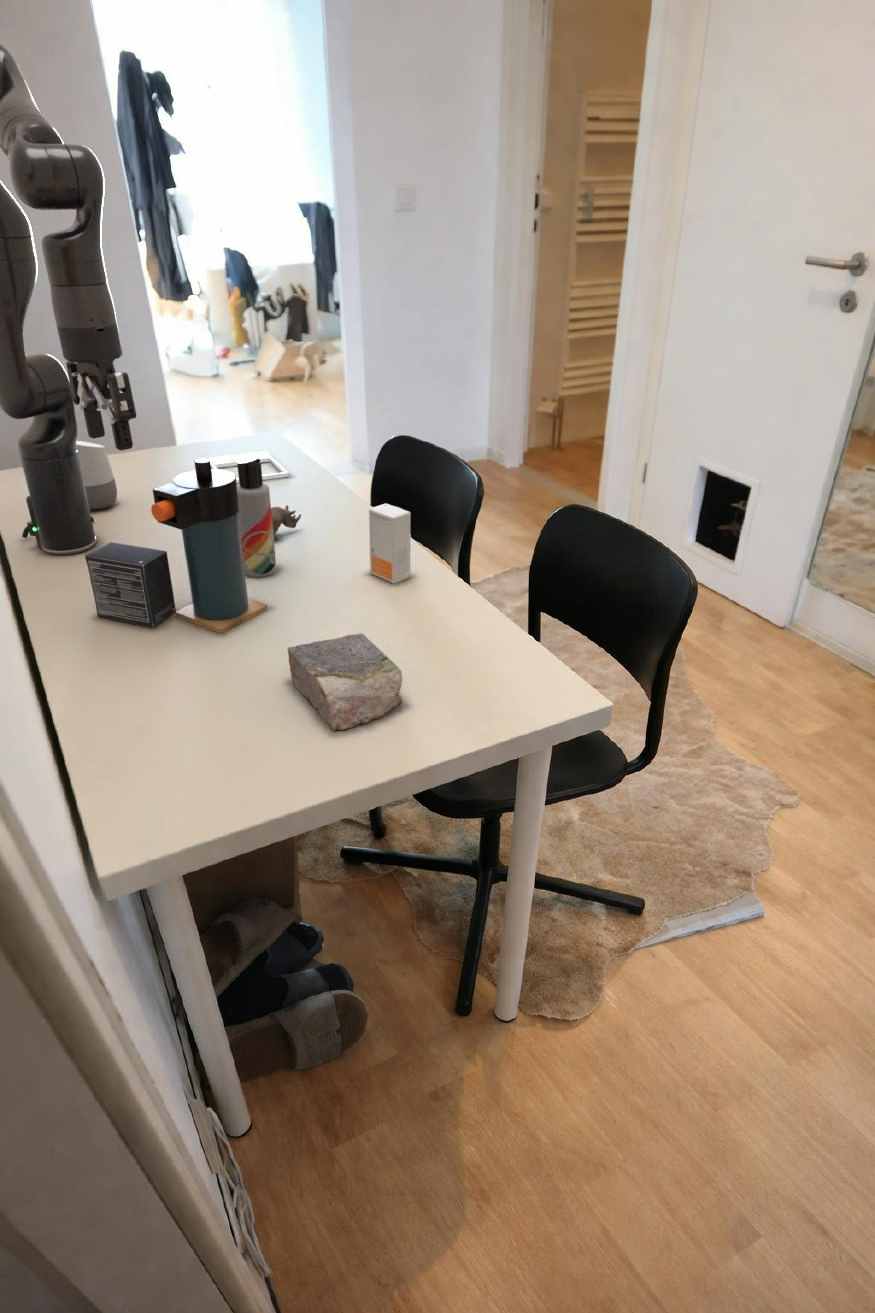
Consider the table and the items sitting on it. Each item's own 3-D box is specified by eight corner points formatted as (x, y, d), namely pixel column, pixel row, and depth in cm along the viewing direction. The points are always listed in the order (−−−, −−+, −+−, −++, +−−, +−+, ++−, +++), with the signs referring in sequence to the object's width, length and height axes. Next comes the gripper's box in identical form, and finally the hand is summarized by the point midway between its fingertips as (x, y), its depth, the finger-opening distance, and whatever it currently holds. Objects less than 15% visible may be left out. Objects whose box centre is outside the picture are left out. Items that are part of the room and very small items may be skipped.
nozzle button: (165, 523, 114) (162, 505, 112) (152, 519, 115) (149, 501, 114) (182, 517, 116) (179, 499, 115) (169, 513, 117) (166, 495, 116)
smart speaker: (129, 504, 171) (117, 436, 164) (91, 517, 164) (77, 447, 157) (99, 495, 175) (86, 429, 168) (61, 507, 169) (46, 439, 161)
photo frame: (265, 450, 201) (288, 471, 187) (266, 454, 201) (289, 476, 188) (205, 457, 195) (224, 480, 181) (206, 462, 196) (225, 484, 182)
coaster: (221, 634, 124) (220, 629, 124) (175, 616, 129) (174, 611, 128) (267, 609, 131) (267, 604, 131) (222, 593, 136) (221, 588, 135)
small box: (179, 611, 130) (169, 549, 125) (154, 629, 125) (142, 565, 120) (123, 600, 133) (111, 539, 128) (96, 617, 128) (82, 555, 122)
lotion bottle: (269, 579, 141) (258, 464, 131) (237, 576, 142) (224, 461, 132) (281, 566, 146) (271, 454, 135) (250, 562, 146) (239, 451, 136)
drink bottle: (205, 634, 122) (183, 479, 110) (165, 618, 126) (139, 467, 114) (261, 605, 131) (246, 458, 119) (221, 591, 135) (203, 448, 123)
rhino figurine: (308, 532, 159) (306, 503, 156) (245, 550, 151) (242, 519, 148) (297, 526, 162) (294, 497, 159) (234, 543, 154) (230, 513, 151)
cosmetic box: (369, 574, 143) (367, 508, 137) (387, 567, 146) (386, 502, 140) (393, 584, 140) (393, 517, 134) (411, 577, 142) (411, 511, 136)
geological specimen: (357, 627, 116) (410, 671, 105) (358, 666, 119) (410, 712, 107) (285, 644, 111) (332, 691, 100) (288, 683, 114) (334, 734, 102)
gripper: (36, 318, 111) (63, 438, 119) (82, 329, 102) (108, 458, 110) (90, 313, 116) (112, 429, 124) (138, 323, 107) (159, 447, 115)
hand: (110, 442), depth 117 cm, fingers open, 8 cm apart
